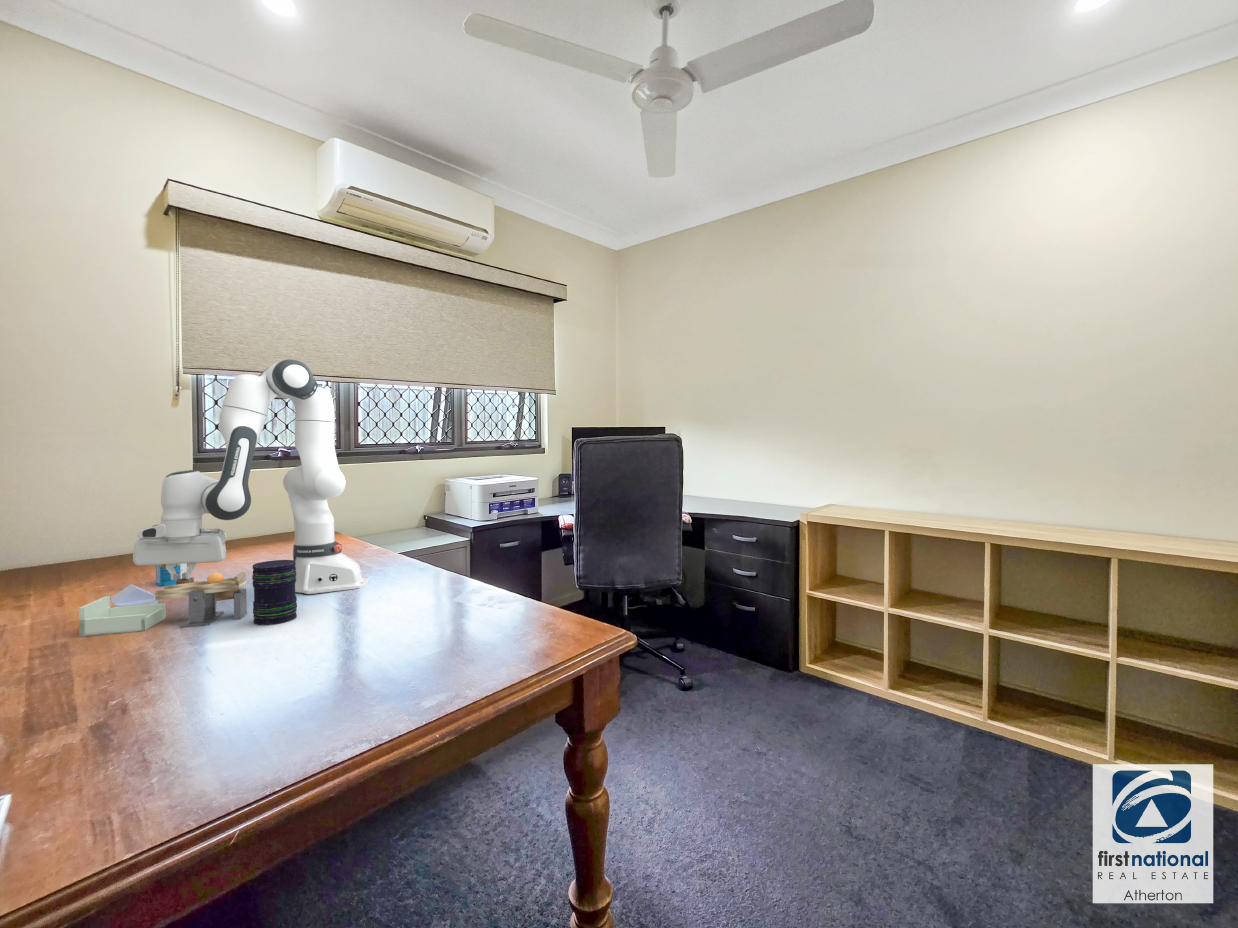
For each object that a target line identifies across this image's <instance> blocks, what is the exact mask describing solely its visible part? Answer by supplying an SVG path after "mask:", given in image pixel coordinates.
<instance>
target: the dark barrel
mask: <svg viewBox="0 0 1238 928" xmlns="http://www.w3.org/2000/svg"><path fill="white" fill-rule="evenodd" d="M295 565H296V561H294V560H293V559H274V560H268V561H261V562H257V563H254V564H252V576H251V578H252V587H253V599H254V601H253V602H252V607H253V608H252V614H253V624H254V625H255V626H274V625H279V624H285V623H289V622H291V621H293V620H296V619H297V617H298V616H297V611H298V610H297V608H298V602H297V600H298V598H297V596H296V592H295V583H296V566H295Z"/></svg>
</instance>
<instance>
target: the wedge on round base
mask: <svg viewBox="0 0 1238 928" xmlns="http://www.w3.org/2000/svg"><path fill="white" fill-rule="evenodd" d="M110 602H112V603H113V607H123V606H135V605H148V604H159V600H156V599H155V593H153V592H152V591H148V590H147V589H144V588H141V587H139V586H136V585H135V584H132V583H131V584H128V585H127V586H126V587H124V588H123V589H122V590H120V591H119V592H118V593H116V594H115V595H113V596H112V597H110Z"/></svg>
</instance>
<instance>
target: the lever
mask: <svg viewBox="0 0 1238 928" xmlns="http://www.w3.org/2000/svg"><path fill="white" fill-rule="evenodd" d="M246 585H247V578H246V572H245V571H242V572H240V573H238V574H237V575H235V576H234V577H229V578H227V577H226V578H224V581H223V583H215V584H208V583H207V580H204V581H203V580H202V581H195V579H194V577H191V578H190V579H188V580H182V579H180V580H178V581H176V585H170V586H164V589H161V590H160V589H159V590H155V591H154V595H155V599H156V600H158V601H159V600H165V599H175V598H183V597H188V592H190V591H202V590H204V594H207V593H215V601H216V602H219V601H229V600H234V593H235V592H236V591H238V590H239V589H243V587H244V586H246Z"/></svg>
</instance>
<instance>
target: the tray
mask: <svg viewBox="0 0 1238 928" xmlns="http://www.w3.org/2000/svg"><path fill="white" fill-rule="evenodd" d="M110 598H111V595H107V596H106V595H105V596H103V597H100V598H98V599H96V600H94V601H91V602H89V603H86V604H85V605H83V606H82V605H81V606H80V607H78V621H79V623H78V624H79V627H78V629H79V630H78V632H79V638H81V637H92V636H102V635H103V636H104V635H111V634H112V635H114V634H116V635H117V634H125V633H137V632H145V631H148V630H149V629H150V628H152V627H154V626H155V625H157V624H158V623H160V622H162V621H163V620H165V619H166V618H167V614H166V612H167V611H166V609H167V607H166V602H163V603H158V604H148V605H135V606H123V607H114V606H112V607H111V600H110Z"/></svg>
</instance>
